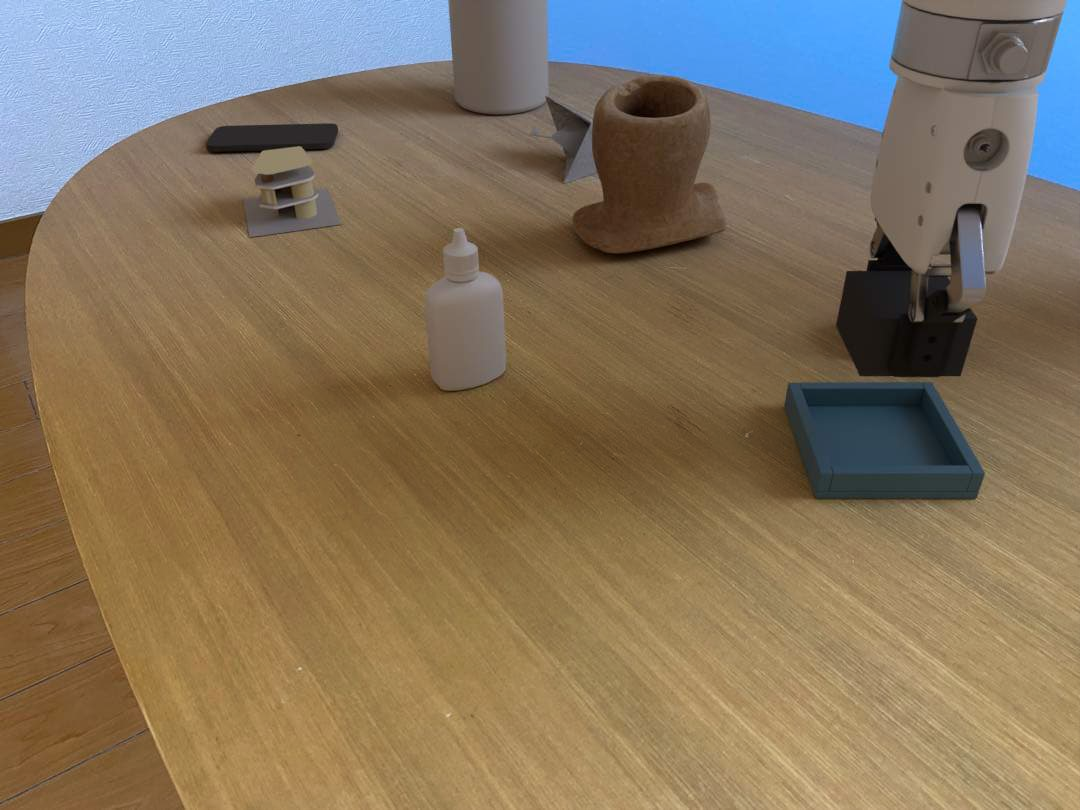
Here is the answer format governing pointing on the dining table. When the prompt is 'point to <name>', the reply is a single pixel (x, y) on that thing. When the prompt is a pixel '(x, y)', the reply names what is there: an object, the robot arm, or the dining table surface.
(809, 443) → the dock
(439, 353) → the eye dropper bottle
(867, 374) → the dark brown square block
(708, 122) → the stone cup
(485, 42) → the cylinder vase
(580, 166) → the paper boat
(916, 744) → the dining table surface
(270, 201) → the stacked layers on plate
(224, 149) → the phone
